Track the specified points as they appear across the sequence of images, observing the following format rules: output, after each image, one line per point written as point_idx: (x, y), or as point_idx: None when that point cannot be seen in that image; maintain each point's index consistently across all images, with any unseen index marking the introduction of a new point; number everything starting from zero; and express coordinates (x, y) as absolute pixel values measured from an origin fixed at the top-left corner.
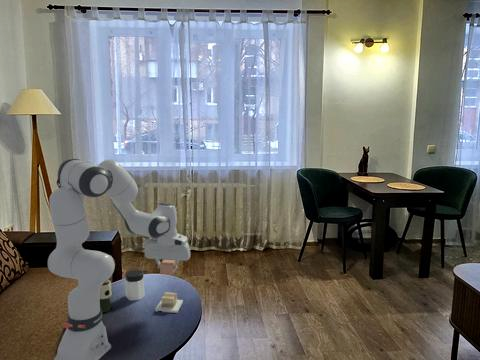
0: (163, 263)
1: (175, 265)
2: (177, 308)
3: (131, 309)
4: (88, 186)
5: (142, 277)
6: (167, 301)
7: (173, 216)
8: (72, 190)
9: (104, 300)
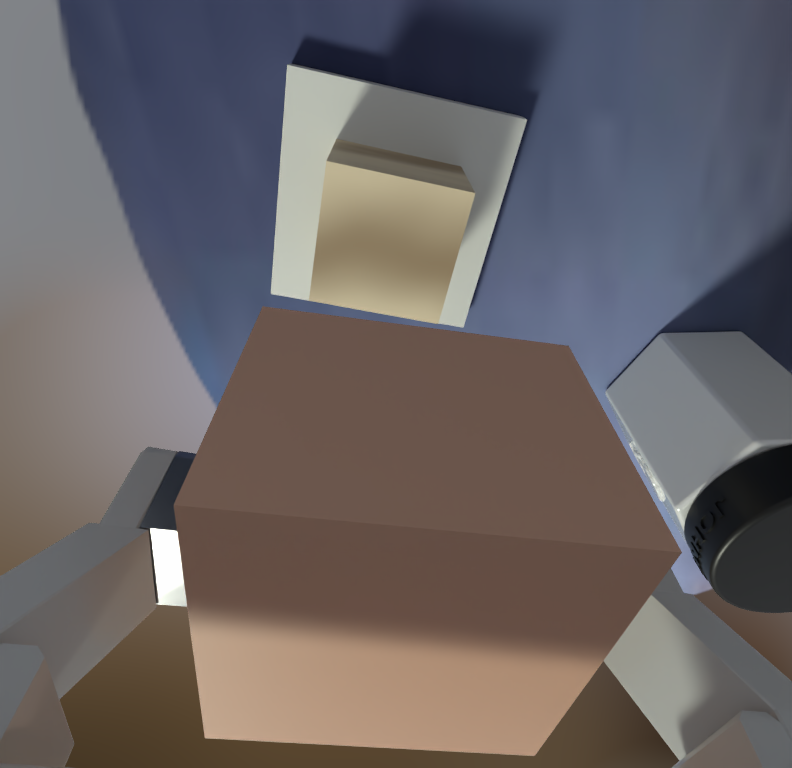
0: (541, 605)
1: (129, 531)
2: (291, 122)
3: (749, 172)
4: None
5: (705, 507)
6: (400, 168)
7: None
8: None
9: None
